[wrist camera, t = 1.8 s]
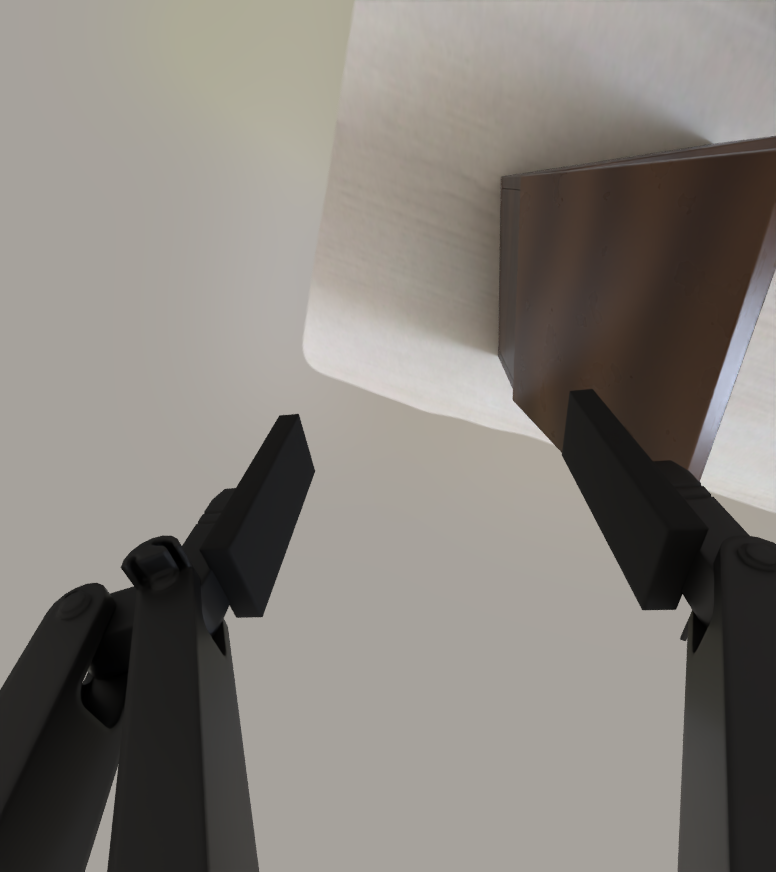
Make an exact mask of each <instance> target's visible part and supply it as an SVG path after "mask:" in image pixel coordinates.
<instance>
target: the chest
mask: <svg viewBox="0 0 776 872" xmlns="http://www.w3.org/2000/svg"><path fill="white" fill-rule="evenodd" d="M775 148H776V136H771V137H763V138H755V139H748V140H740V141H732V142H724V143H716V144H709V145H703V146H697V147H690V148H684V149H677V150H671V151H664V152H658V153H651V154H645V155H638V156H632V157H625V158H619V159H612V160H606V161H600V162H593V163H587V164H580V165H574V166H567V167H561V168H554V169H548V170H541V171H535V172H528V173H522V174H515V175H509V176H502V177H501V206H500V276H499V346H498V357H499V359H500V361H501V363H502V366H503V368H504V370H505V372H506V375H507V377H508V379H509V381H510V384H511V386H512V388H513V378H514V350H515V323H516V296H517V268H518V241H519V213H520V186H521V176H525V175H532V174H541V173H550V172H559V171H569V170H578V169H587V168H597V167H606V166H615V165H625V164H634V163H643V162H653V161H662V160H672V159H681V158H690V157H700V156H709V155H718V154H728V153H737V152H746V151H756V150H765V149H775Z"/></svg>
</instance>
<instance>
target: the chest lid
mask: <svg viewBox="0 0 776 872" xmlns="http://www.w3.org/2000/svg"><path fill="white" fill-rule="evenodd" d="M775 269H776V148H775V149H765V150H756V151H746V152H737V153H728V154H718V155H709V156H700V157H690V158H681V159H672V160H662V161H653V162H643V163H634V164H625V165H615V166H606V167H597V168H587V169H578V170H569V171H559V172H550V173H541V174H532V175H525V176H521V186H520V213H519V241H518V268H517V296H516V323H515V350H514V378H513V401H514V402H515V403H516V404H517V405H518V406H519V407H520V408H521V409H522V410H523V412H524V413H525V414H526V415H527V416H528V417H529V418H530V419H531V420H532V421H533V422H534V423H535V424H536V425H537V427H538V428H539V429H540V430H541V431H542V432H543V433H544V434H545V435H546V436H547V437H548V438H549V439H550V440H551V441H552V443H553V444H554V445H555V446H556V447H557V448H558V449H559V450H560V451H561V452H562V450H563V441H564V433H565V425H566V417H567V408H568V400H569V392H570V391H574V390H586V389H593V390H594V391H595V392H596V394H597V395H598V396H599V397H600V398H601V400H602V401H603V402H604V403H605V404H606V406H607V407H608V408H609V409H610V410H611V412H612V413H613V414H614V415H615V416H616V418H617V419H618V420H619V421H620V422H621V424H622V425H623V426H624V427H625V428H626V430H627V431H628V432H629V433H630V434H631V436H632V437H633V438H634V439H635V440H636V442H637V443H638V444H639V445H640V446H641V448H642V449H643V450H644V451H645V452H646V454H647V455H648V456H649V457H650V458H651V460H652V461H666V460H671V461H673V462H675V463H677V464H678V465H680V466H682V467H683V468H685V469H687V470H689V471H690V472H691V473H692V474H693V475H694V477H695V478H696V479H697V480H698V481H699V482H700V479H701V476H702V473H703V471H704V468H705V465H706V462H707V459H708V457H709V454H710V451H711V448H712V445H713V443H714V440H715V437H716V434H717V431H718V429H719V426H720V423H721V420H722V417H723V415H724V412H725V409H726V406H727V403H728V401H729V398H730V395H731V392H732V389H733V387H734V384H735V381H736V378H737V376H738V373H739V370H740V367H741V364H742V362H743V359H744V356H745V353H746V350H747V348H748V345H749V342H750V339H751V336H752V334H753V331H754V328H755V325H756V322H757V320H758V317H759V314H760V311H761V308H762V306H763V303H764V300H765V297H766V294H767V292H768V289H769V286H770V283H771V280H772V278H773V275H774V272H775Z"/></svg>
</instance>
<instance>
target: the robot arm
mask: <svg viewBox="0 0 776 872" xmlns="http://www.w3.org/2000/svg"><path fill="white" fill-rule="evenodd" d="M562 456H563V458H564V460H565V462H566V464H567V466H568V468H569V470H570V472H571V474H572V475H573V477H574V479H575V481H576V483H577V485H578V487H579V489H580V491H581V493H582V495H583V496H584V498H585V501H586V502H587V504H588V506H589V508H590V510H591V512H592V514H593V516H594V518H595V520H596V522H597V524H598V526H599V527H600V529H601V531H602V533H603V535H604V537H605V539H606V541H607V543H608V545H609V546H610V549H611V550H612V552H613V554H614V556H615V558H616V560H617V562H618V564H619V566H620V568H621V569H622V571H623V573H624V575H625V578H626V579H627V581H628V583H629V585H630V587H631V589H632V591H633V593H634V595H635V597H636V599H637V601H638V602H639V604H640V606H641V608H642V610H675V609H676V608H677V606H678V603H679V601H680V599H681V596H682V594H683V595H684V597H685V599H686V600H687V602H688V603H689V605H690V606H691V608H692V612H691V614H690V617H689V619H688V621H687V624H686V626H685V628H684V630H683V632H682V635H681V638H680V639H681V640H683V641H686V639H687V641H688V642H687V663H686V686H685V710H684V711H685V712H684V734H683V759H682V782H681V783H682V784H681V805H680V806H681V807H680V830H679V853H678V872H776V544H775V543H773V542H770V541H767V540H764V539H761V538H758V537H752V536H749V535H748V534H747V532H746V531H745V530H744V529H743V528H742V527H741V526H740V525H739V524H738V523H737V522H736V521H735V520H734V518H733V517H732V516H731V515H730V514H729V513H728V512H727V511H726V510H725V509H724V508H723V507H722V506H721V505H720V503H719V502H718V501H717V500H716V499H715V498H714V497H711V494H710V493H709V492H708V491H707V489H706V488H705V487H704V486H701V483H700V482H699V481H698V480H697V479H696V478H695V477H694V475H693V474H692V473H691V472H690V471H689V470H687V469H685V468H683V467H682V466H680V465H678V464H677V463H675V462H673V461H671V460H666V461H652V460H651V458H650V457H649V456H648V455H647V454H646V452H645V451H644V450H643V449H642V448H641V446H640V445H639V444H638V443H637V442H636V440H635V439H634V438H633V437H632V436H631V434H630V433H629V432H628V431H627V430H626V428H625V427H624V426H623V425H622V424H621V422H620V421H619V420H618V419H617V418H616V416H615V415H614V414H613V413H612V412H611V410H610V409H609V408H608V407H607V406H606V404H605V403H604V402H603V401H602V400H601V398H600V397H599V396H598V395H597V394H596V392H595V391H594V390H593V389H586V390H574V391H570V392H569V400H568V408H567V417H566V425H565V433H564V441H563V450H562ZM314 473H315V469H314V466H313V463H312V459H311V455H310V452H309V448H308V445H307V441H306V438H305V434H304V431H303V427H302V424H301V420H300V417H299V414H294V415H293V414H292V415H281V416H279V417H278V419H277V421H276V422H275V424H274V426H273V427H272V429H271V431H270V433H269V434H268V436H267V437H266V439H265V441H264V443H263V444H262V446H261V447H260V449H259V451H258V453H257V454H256V456H255V458H254V459H253V461H252V462H251V464H250V466H249V467H248V469H247V471H246V472H245V474H244V476H243V477H242V479H241V481H240V482H239V484H238V486H237V487H236V488H232V489H224V490H223V491H222V492H221V493H220V494H218V495H217V496H216V497H215V498H214V499H213V500H212V501H211V503H210V504H209V506H208V507H207V509H206V510H205V514H203V515H202V516H201V518H200V519H199V521H198V524H196V526H195V527H194V529H193V530H192V532H191V533H190V535H189V536H188V538H187V539H186V541H185V543H184V544H183V545H182V546H181V544H180V542H179V541H178V539H177V538H175V537H173V536H160V537H156V538H152V539H150V540H148V541H146V542H144V543H142V544H140V545H139V546H138V547H136V548H135V549H134V550H132V551H131V552H130V553H129V554H128V556H127V557H126V558H125V559H124V561H123V563H122V566H121V568H122V570H123V571H124V573H125V574H126V575H127V577H128V578H129V579H130V581H131V582H132V584H133V585H134V587H130V588H127V589H124V590H120V591H117V592H114V593H111V594H110V593H109V592H108V591H107V589H106V588H105V587H104V586H103V585H101V584H98V583H90V584H85V585H83V586H80V587H77V588H75V589H73V590H72V591H70V592H68V593H66V594H65V595H64V596H62V597H61V598H60V599H59V600H58V601H56V602H55V603H54V604H53V606H52V607H51V608H50V609H49V611H48V612H47V613H46V615H45V616H44V618H43V620H42V622H41V623H40V625H39V626H38V628H37V630H36V631H35V633H34V635H33V636H32V638H31V640H30V641H29V643H28V645H27V646H26V648H25V650H24V651H23V653H22V655H21V656H20V658H19V660H18V662H17V663H16V665H15V666H14V668H13V670H12V671H11V673H10V675H9V676H8V678H7V680H6V681H5V683H4V685H3V687H2V688H1V690H0V872H85V869H86V866H87V863H88V860H89V856H90V853H91V850H92V847H93V844H94V840H95V837H96V834H97V831H98V828H99V824H100V821H101V818H102V815H103V812H104V808H105V805H106V802H107V799H108V796H109V792H110V789H111V786H112V783H113V780H114V776H115V773H116V770H117V767H118V775H117V784H116V794H115V803H114V814H113V822H112V832H111V841H110V851H109V860H108V870H107V872H259V867H258V859H257V853H256V852H257V851H256V844H255V836H254V828H253V820H252V812H251V804H250V797H249V789H248V781H247V774H246V765H245V757H244V750H243V742H242V734H241V726H240V718H239V710H238V703H237V695H236V687H235V679H234V672H233V663H232V656H231V648H230V640H229V632H228V627H227V624H226V622H225V620H224V616H225V614H226V611H227V609H228V607H229V605H230V607H231V609H232V610H233V612H234V614H235V616H236V617H238V618H239V617H240V618H241V617H263V614H264V611H265V608H266V606H267V603H268V600H269V597H270V594H271V592H272V589H273V586H274V584H275V580H276V578H277V575H278V573H279V570H280V567H281V564H282V561H283V559H284V556H285V553H286V550H287V548H288V545H289V542H290V539H291V537H292V534H293V531H294V528H295V525H296V523H297V520H298V517H299V514H300V512H301V509H302V506H303V503H304V501H305V498H306V495H307V492H308V489H309V487H310V484H311V481H312V478H313V476H314ZM687 637H688V638H687ZM87 671H88V674H87V676H86V678H85V675H86V673H87ZM84 678H85V680H84ZM83 680H84V681H83ZM82 682H83V683H82ZM118 764H119V765H118Z"/></svg>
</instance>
